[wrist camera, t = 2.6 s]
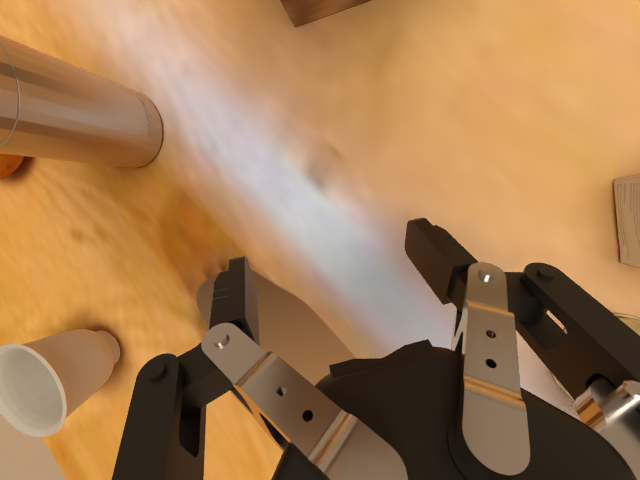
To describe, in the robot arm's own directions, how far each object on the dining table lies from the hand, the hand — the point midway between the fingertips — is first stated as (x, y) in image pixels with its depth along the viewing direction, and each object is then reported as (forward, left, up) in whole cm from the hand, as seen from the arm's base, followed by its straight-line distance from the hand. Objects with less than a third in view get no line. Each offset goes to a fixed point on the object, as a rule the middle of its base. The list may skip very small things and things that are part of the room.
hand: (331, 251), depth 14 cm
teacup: (-42, -12, -18) cm, 48 cm away
